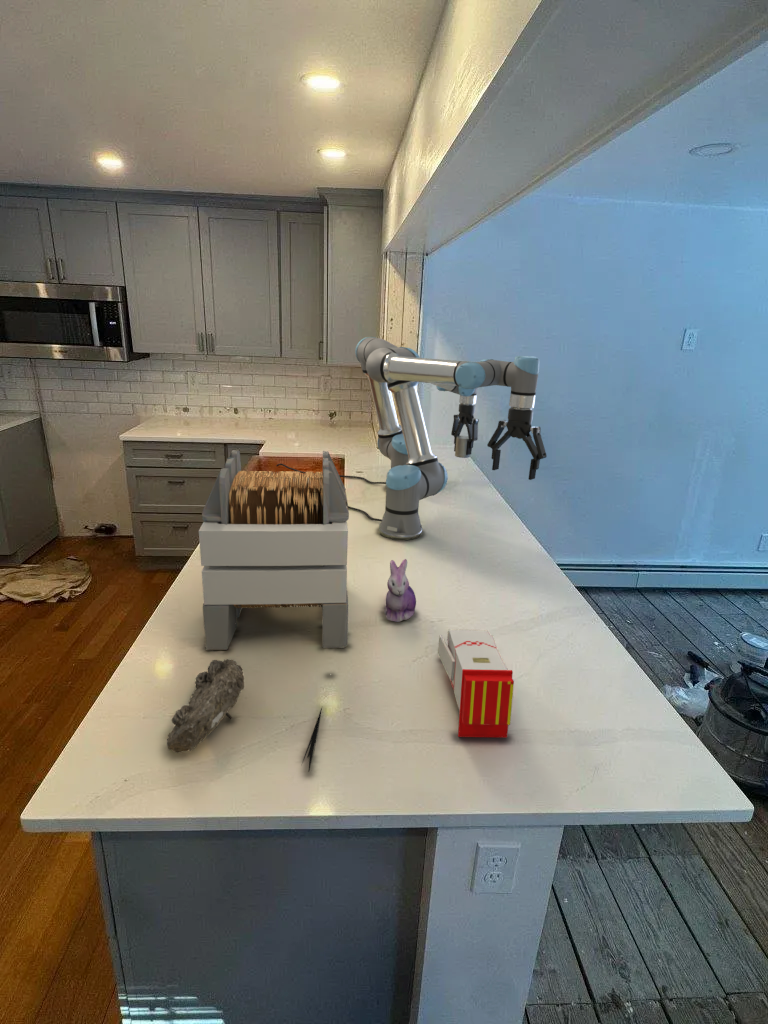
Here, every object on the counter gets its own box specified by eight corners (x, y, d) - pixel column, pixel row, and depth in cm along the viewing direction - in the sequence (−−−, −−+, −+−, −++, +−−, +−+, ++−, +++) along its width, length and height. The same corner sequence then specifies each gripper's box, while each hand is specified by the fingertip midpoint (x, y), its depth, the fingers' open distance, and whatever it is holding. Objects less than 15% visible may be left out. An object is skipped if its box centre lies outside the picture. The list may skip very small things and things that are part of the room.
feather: (331, 679, 122) (336, 673, 122) (307, 777, 96) (313, 769, 95) (324, 675, 122) (329, 669, 121) (298, 772, 95) (304, 764, 95)
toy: (488, 613, 130) (523, 677, 101) (484, 667, 133) (517, 744, 104) (435, 612, 130) (455, 676, 101) (432, 666, 133) (451, 743, 103)
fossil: (192, 660, 117) (244, 628, 112) (224, 691, 120) (276, 661, 115) (142, 746, 98) (202, 712, 93) (182, 779, 101) (242, 748, 96)
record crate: (226, 583, 159) (217, 441, 145) (342, 582, 163) (345, 443, 149) (203, 652, 127) (189, 478, 114) (348, 648, 131) (352, 480, 117)
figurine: (392, 627, 141) (395, 572, 136) (374, 608, 149) (376, 556, 144) (425, 619, 145) (429, 566, 140) (405, 601, 154) (408, 550, 149)
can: (455, 457, 265) (457, 438, 262) (454, 453, 272) (456, 435, 269) (470, 458, 265) (472, 439, 262) (469, 454, 272) (471, 436, 269)
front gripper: (564, 413, 170) (554, 481, 177) (494, 401, 186) (487, 464, 193) (551, 415, 164) (541, 485, 172) (481, 403, 181) (474, 467, 188)
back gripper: (489, 406, 256) (483, 456, 263) (457, 400, 270) (452, 447, 277) (478, 408, 251) (473, 458, 259) (446, 401, 265) (441, 449, 273)
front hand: (513, 474), depth 182 cm, fingers open, 13 cm apart
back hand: (462, 452), depth 268 cm, fingers closed on can, 7 cm apart
